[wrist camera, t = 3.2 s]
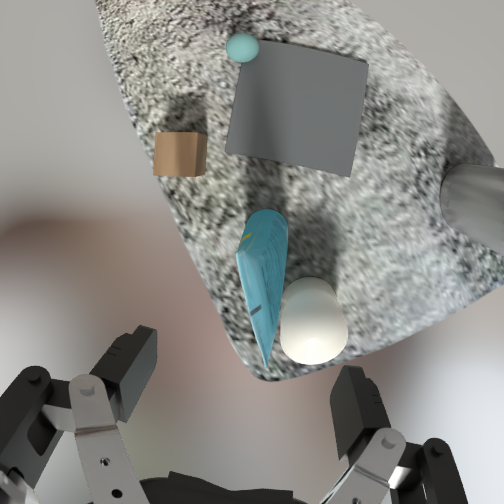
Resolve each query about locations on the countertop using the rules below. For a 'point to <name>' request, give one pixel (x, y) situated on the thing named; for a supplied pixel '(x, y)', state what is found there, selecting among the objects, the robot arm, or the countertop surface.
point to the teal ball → (242, 47)
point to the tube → (263, 273)
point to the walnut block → (180, 154)
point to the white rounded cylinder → (311, 322)
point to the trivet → (298, 107)
